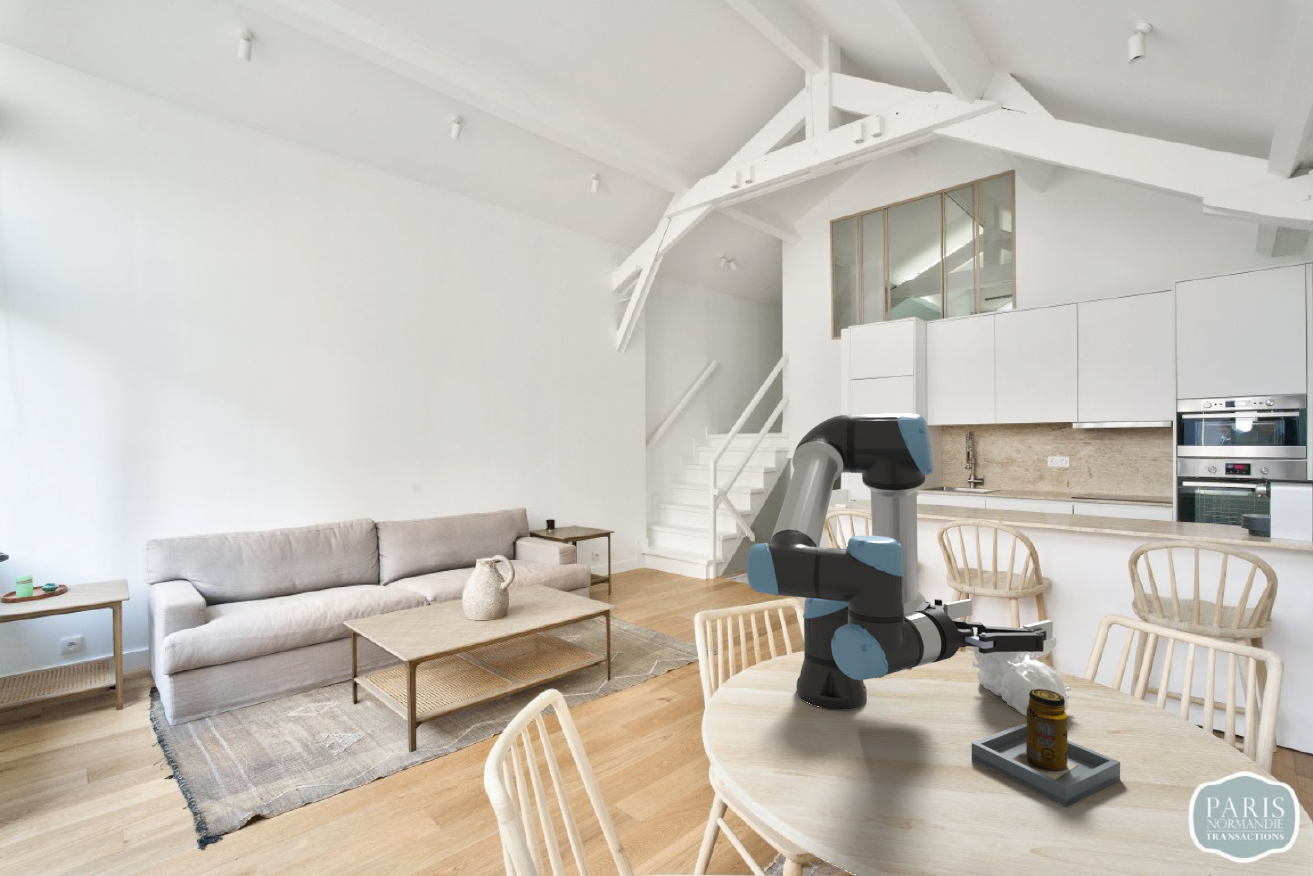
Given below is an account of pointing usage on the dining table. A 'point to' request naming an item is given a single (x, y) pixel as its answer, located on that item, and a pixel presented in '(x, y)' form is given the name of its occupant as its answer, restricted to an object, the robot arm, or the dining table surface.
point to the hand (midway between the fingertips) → (1007, 617)
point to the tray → (1064, 790)
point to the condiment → (1046, 734)
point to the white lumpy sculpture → (1018, 675)
